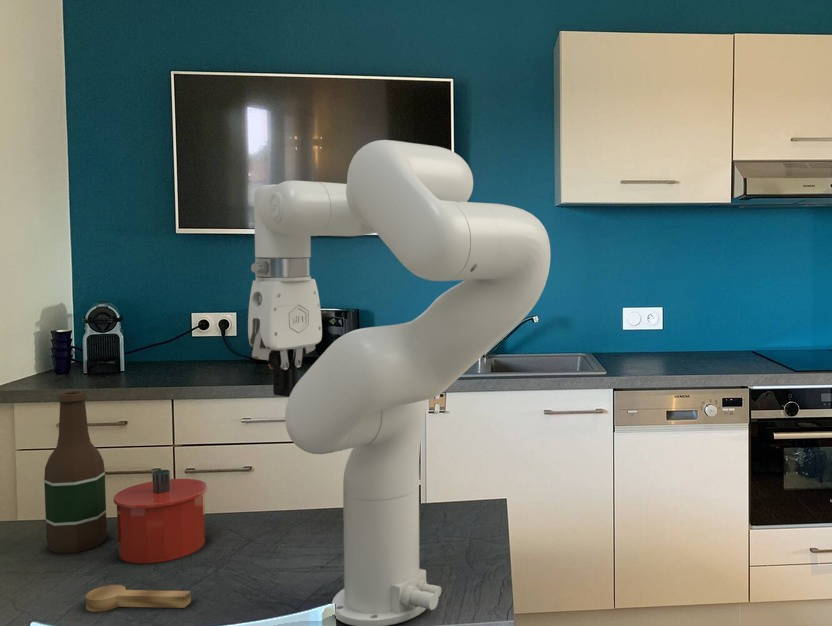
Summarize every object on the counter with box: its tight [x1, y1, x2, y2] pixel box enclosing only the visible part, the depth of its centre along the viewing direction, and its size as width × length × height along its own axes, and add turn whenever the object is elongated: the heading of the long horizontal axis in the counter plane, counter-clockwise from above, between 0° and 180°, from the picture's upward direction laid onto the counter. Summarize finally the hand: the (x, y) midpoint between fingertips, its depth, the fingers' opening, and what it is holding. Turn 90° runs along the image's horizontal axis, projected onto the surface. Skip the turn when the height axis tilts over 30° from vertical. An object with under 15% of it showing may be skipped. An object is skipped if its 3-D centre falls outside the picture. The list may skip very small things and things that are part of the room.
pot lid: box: [113, 469, 209, 508], centre depth 119 cm, size 13×13×4 cm
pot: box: [116, 492, 207, 564], centre depth 120 cm, size 12×12×8 cm
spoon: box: [85, 584, 192, 613], centre depth 101 cm, size 13×4×2 cm, turn 89°
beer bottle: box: [43, 390, 108, 555], centre depth 120 cm, size 8×8×24 cm
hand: (285, 394), depth 114 cm, fingers closed
